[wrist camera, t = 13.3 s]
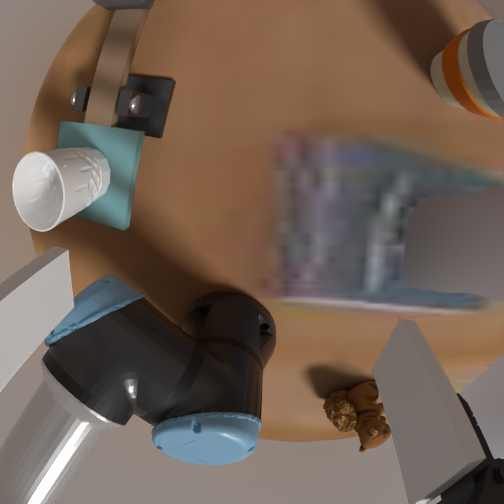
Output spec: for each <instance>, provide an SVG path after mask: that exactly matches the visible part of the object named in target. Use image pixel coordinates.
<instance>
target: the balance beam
mask: <svg viewBox="0 0 504 504" xmlns="http://www.w3.org/2000/svg"><path fill="white" fill-rule="evenodd" d="M93 1H94V2H95V3H97V4H99V5H101V6H102V7H104V8H106V9H107V10H115V13H114V15H113V18H112V21H111V23H110V26H109V29H108V32H107V35H106V38H105V41H104V44H103V47H102V50H101V54H100V57H99V61H98V64H97V68H96V71H95V75H94V79H93V83H92V87H91V91H90V96H89V100H88V105H87V110H86V115H85V120H84V122H77V121H68V120H66V121H61V123H60V129H59V136H58V143H57V149H59V148H73V147H74V148H83V147H91V148H94V149H97V150H99V151H100V152H101V153H102V154H103V155H104V156H105V157H106V158H107V161H108V164H109V167H110V170H111V171H110V184H109V186H108V188H107V190H106V193H105V194H104V195H102V196H101V197H100V198H99V199H98V200H96V201H94V202H93V203H91V204H90V205H89V206H87V207H86V208H84V209H82V210H81V211H79V212H78V213H76V214H75V215H73V216H76V217H80V218H83V219H86V220H90V221H93V222H97V223H100V224H103V225H107V226H110V227H114V228H117V229H120V230H126V229H127V228H128V227H129V226H130V217H131V210H132V202H133V195H134V188H135V182H136V176H137V170H138V164H139V159H140V153H141V148H142V143H143V138H144V134H145V131H140V130H134V129H128V128H122V127H116V125H117V120H118V116H119V115H115V113H116V109H117V104H118V100H119V96H120V92H121V90H125V86H126V82H127V78H128V75H129V71H130V67H131V64H132V60H133V57H134V54H135V51H136V47H137V44H138V41H139V38H140V35H141V32H142V29H143V26H144V24H145V21H146V18H147V15H148V13H149V10H150V9H151V8H152V6H153V3H154V1H155V0H93Z"/></svg>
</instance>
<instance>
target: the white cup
mask: <svg viewBox="0 0 504 504" xmlns="http://www.w3.org/2000/svg"><path fill="white" fill-rule="evenodd" d="M110 171H111V170H110V167H109V164H108V161H107V158H106V157H105V156H104V155H103V154H102V153H101V152H100V151H99V150H97V149H94V148H91V147H83V148H74V147H73V148H59V149H51V150H43V151H35V152H30V153H28V154H26V155H25V156H24V157H23V158H22V159H21V160H20V161H19V163H18V165H17V167H16V169H15V172H14V176H13V183H12V192H13V199H14V203H15V206H16V209H17V211H18V213H19V215H20V216H21V218H22V220H23V221H24V222H25V223H26V224H27V225H28V226H29V227H30V228H32V229H34V230H36V231H41V232H44V231H48V230H50V229H52V228H54V227H55V226H57V225H58V224H60V223H62V222H63V221H65V220H66V219H68V218H70V217H71V216H73V215H75V214H76V213H78V212H79V211H81V210H82V209H84V208H86V207H87V206H89V205H90V204H91V203H93V202H94V201H96V200H98V199H99V198H100V197H101V196H102V195H104V194H105V193H106V190H107V188H108V186H109V184H110Z"/></svg>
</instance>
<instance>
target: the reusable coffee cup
mask: <svg viewBox="0 0 504 504" xmlns="http://www.w3.org/2000/svg"><path fill="white" fill-rule="evenodd" d="M430 72H431V79H432V82H433V85H434V87H435V89H436V91H437V93H438V94H439V95H440V97H441V98H442V99H443V100H444V101H445V102H447V103H448V104H449V105H451V106H453V107H457V108H461V109H466V110H468V111H470V112H471V113H474V114H477V115H481V116H486V117H490V118H494V119H500V120H504V19H492V20H486V21H482V22H479V23H476V24H475V25H474V26H473V27H472V28H470V29H467V30H465V31H463V32H462V33H461V34H459V35H458V36H456V37H455V38H454V39H452V40H451V41H450V42H449V43H447V45H446V46H445V48H444V50H442V51H441V52H440V53H438V54H437V55H436V56H435V57H434V58H433V60H432V63H431V68H430Z"/></svg>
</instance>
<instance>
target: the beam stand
mask: <svg viewBox="0 0 504 504" xmlns="http://www.w3.org/2000/svg"><path fill="white" fill-rule="evenodd" d="M175 83H176V82H175V81H173V80H165V79H157V78H148V77H138V76H128V78H127V82H126V86H125V90H121V92H120V96H119V100H118V104H117V109H116V113H115V115H119V116H118V120H117V125H116V127H122V128H128V129H134V130H140V131H145V134H144V135H145V136H151V137H156V138H162V135H163V131H164V127H165V122H166V118H167V114H168V110H169V106H170V102H171V98H172V94H173V91H174V87H175ZM90 91H91V88H89V87H77V90H76V91H75V92H74V93H73V94H72V96H71V105H72V106H73V110H76V111H86V110H87V105H88V100H89V96H90Z"/></svg>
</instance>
